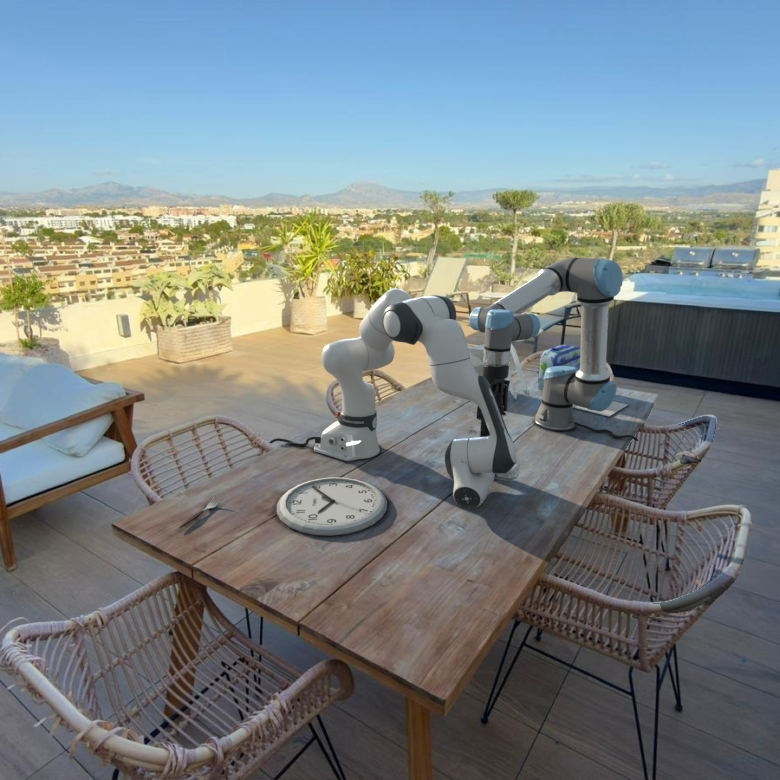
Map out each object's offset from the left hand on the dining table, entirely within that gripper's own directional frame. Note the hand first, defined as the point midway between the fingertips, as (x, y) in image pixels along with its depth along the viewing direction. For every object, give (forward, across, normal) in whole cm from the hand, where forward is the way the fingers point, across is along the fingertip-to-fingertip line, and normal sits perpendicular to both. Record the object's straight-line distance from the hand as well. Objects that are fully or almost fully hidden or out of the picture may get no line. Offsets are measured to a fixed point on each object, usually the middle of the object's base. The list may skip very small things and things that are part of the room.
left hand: (489, 454), depth 162 cm
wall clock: (-37, +35, +6) cm, 51 cm away
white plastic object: (+82, +20, +6) cm, 84 cm away
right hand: (-1, 0, -6) cm, 6 cm away
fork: (-55, +65, +6) cm, 85 cm away
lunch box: (+102, -13, +6) cm, 103 cm away
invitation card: (+83, -33, +6) cm, 90 cm away
